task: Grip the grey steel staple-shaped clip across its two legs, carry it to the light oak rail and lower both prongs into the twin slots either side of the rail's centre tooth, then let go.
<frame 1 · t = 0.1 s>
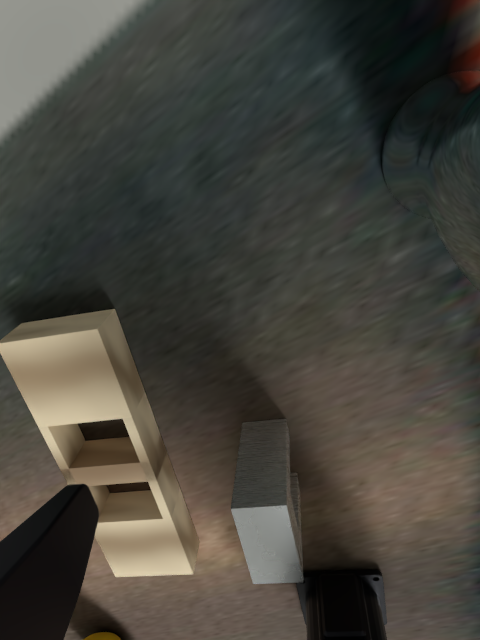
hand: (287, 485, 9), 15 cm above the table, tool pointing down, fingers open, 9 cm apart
clip: (272, 456, 28), on the table
duckling: (112, 636, 40), on the table
rail: (121, 446, 29), on the table
beer glass: (450, 149, 19), on the table
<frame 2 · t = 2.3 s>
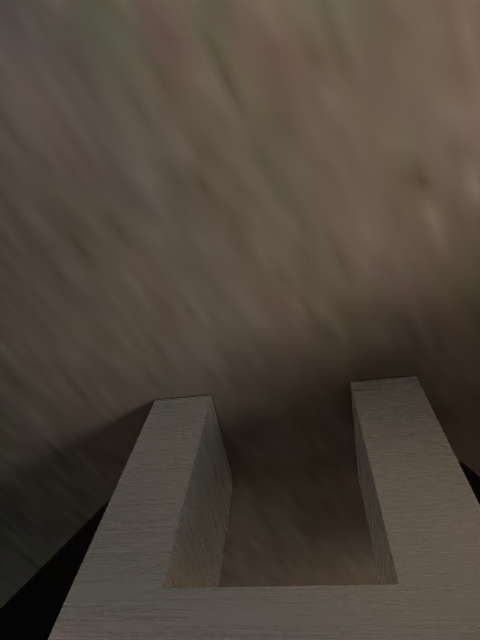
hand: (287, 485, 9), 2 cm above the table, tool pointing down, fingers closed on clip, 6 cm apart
clip: (286, 436, 10), on the table, touching gripper
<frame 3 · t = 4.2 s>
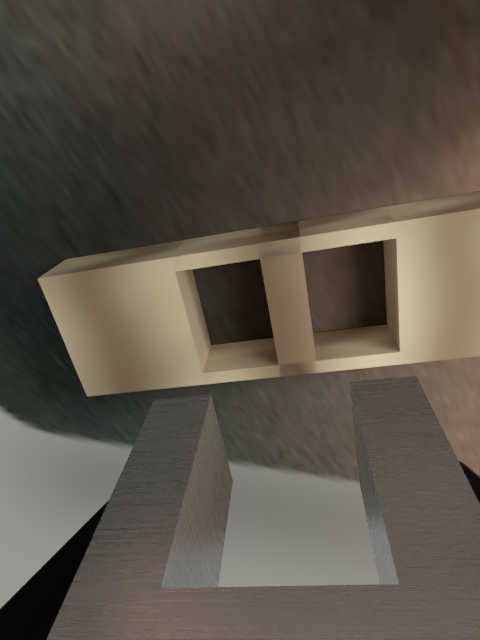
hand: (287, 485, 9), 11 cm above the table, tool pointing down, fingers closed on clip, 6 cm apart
clip: (286, 435, 10), point 10 cm above the table, touching gripper
rail: (289, 289, 19), on the table
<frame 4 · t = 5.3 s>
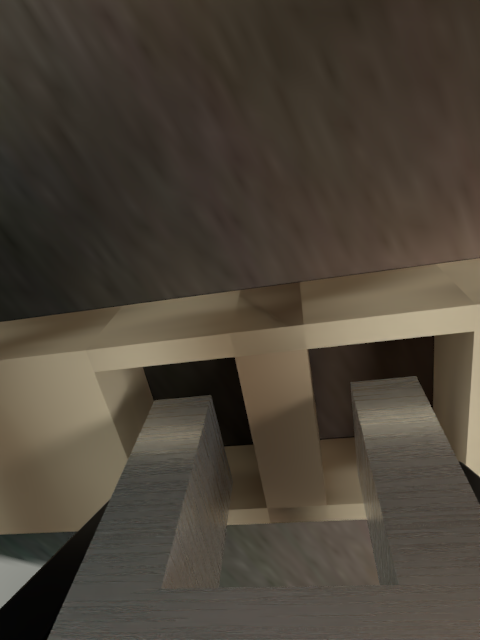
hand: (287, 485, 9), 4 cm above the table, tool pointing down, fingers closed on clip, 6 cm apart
clip: (286, 436, 10), point 3 cm above the table, touching gripper
rail: (284, 379, 13), on the table
when the fingers open (3 cm above the table, at t = 6.0 s): clip drops 1 cm, on the table.
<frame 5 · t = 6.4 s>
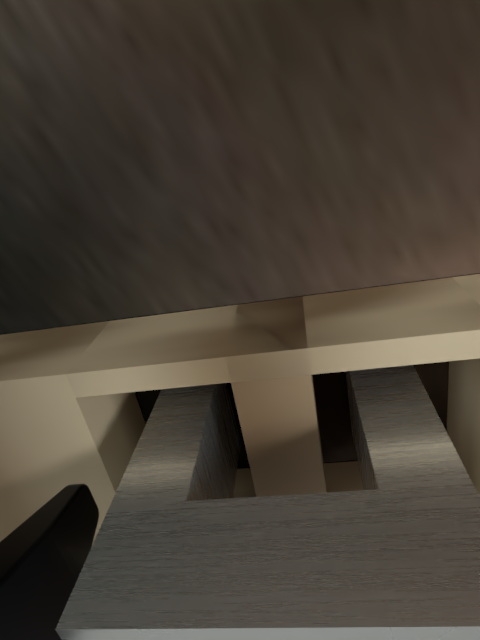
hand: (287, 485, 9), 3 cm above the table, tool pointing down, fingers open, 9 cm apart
clip: (288, 398, 12), on the table
rail: (285, 399, 12), on the table
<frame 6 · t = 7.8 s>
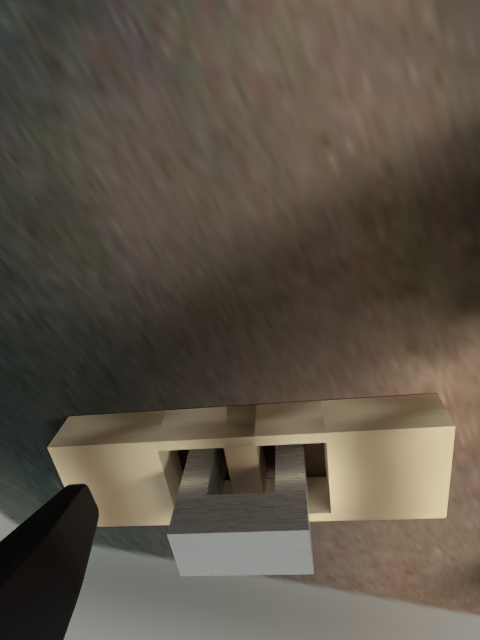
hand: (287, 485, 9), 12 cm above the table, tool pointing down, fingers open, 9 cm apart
clip: (250, 447, 24), on the table
rail: (249, 448, 24), on the table
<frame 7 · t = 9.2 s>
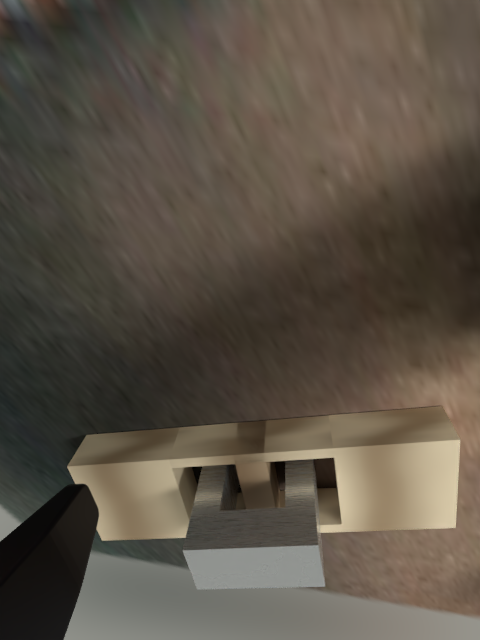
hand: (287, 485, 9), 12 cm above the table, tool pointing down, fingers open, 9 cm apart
clip: (261, 461, 25), on the table
rail: (260, 461, 25), on the table
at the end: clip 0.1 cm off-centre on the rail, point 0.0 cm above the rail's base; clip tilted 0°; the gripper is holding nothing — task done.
